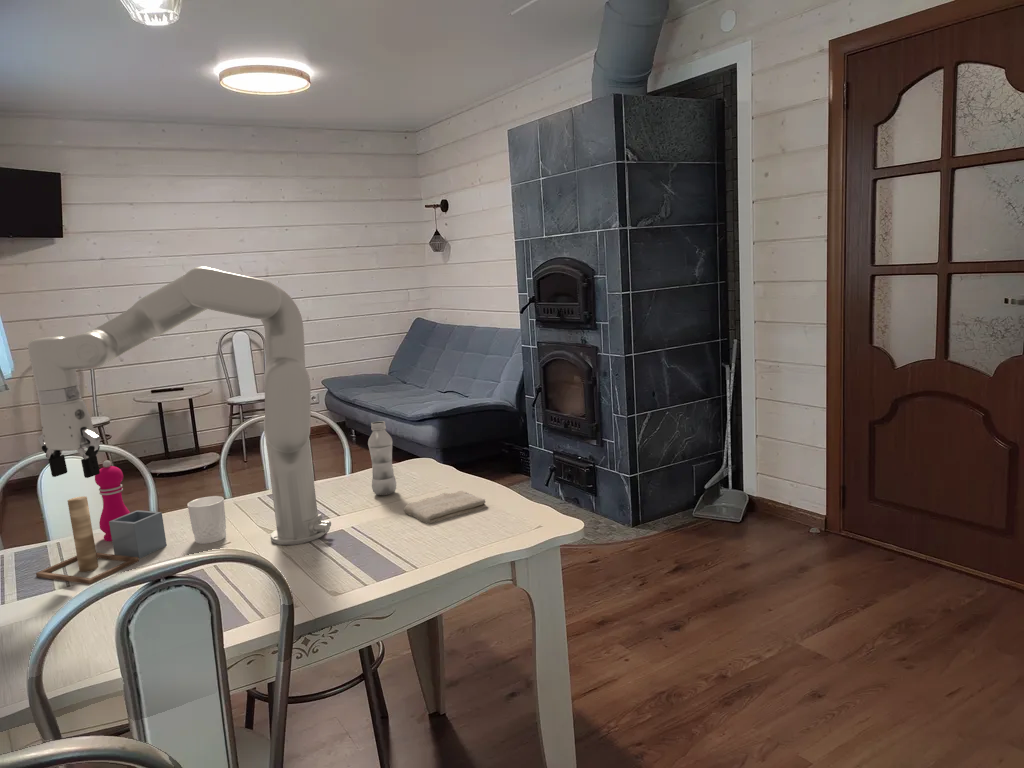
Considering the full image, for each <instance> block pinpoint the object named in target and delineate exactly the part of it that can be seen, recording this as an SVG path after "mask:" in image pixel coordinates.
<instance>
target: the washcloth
mask: <svg viewBox="0 0 1024 768" xmlns="http://www.w3.org/2000/svg"><path fill="white" fill-rule="evenodd" d="M486 508H487V505H486V499H485V498H483V497H478V496H475V495H473V494H472V493H470V492H467V491H464V490H459V491H455V492H450V493H448V492H444V493H443V492H442V493H440V494H438V495H434V496H432V497H427V498H424V499H421V500H420V499H419V500H418V501H417V500H416V501H413V502H410V503H408V504H407V505H406V506H404V508H403V511H404V513H406V514H407V515H409V516H411V517H412V518H413V517H415V518H416V519H417V520H419V521H421V522H423V523H425V524H433V523H437V522H440V521H443V520H448V519H451V518H454V517H457V516H460V515H464V514H467V513H471V512H475V511H477V510H478V511H479V510H481V509H482V510H483V509H486Z"/></svg>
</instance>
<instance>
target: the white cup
mask: <svg viewBox="0 0 1024 768" xmlns="http://www.w3.org/2000/svg"><path fill="white" fill-rule="evenodd" d="M224 500H225V499H224V497H223V496H221V495H220V496H219V495H212V496H211V495H210V496H205V497H204V496H203V497H199V498H196V499H193V500H191V501H189V502H187V504H186V505H187V510H188V516H189V521H190V525H191V530H192V533H193V535H194V536H193V538H194V542H195V543H196V544H201V545H203V544H205V545H206V544H211V543H214V542H215V543H216V542H219V541H221V540H223V539H225V538H226V537H227V530H226V529H227V525H226V524H227V522H226V521H227V519H226V510H225V501H224Z"/></svg>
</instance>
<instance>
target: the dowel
mask: <svg viewBox="0 0 1024 768" xmlns="http://www.w3.org/2000/svg"><path fill="white" fill-rule="evenodd" d="M67 507H68V511H69V512H68V513H69V519H70V524H71V529H72V530H71V531H72V535H73V543H74V547H75V552H76V553H75V554H76V556H77V559H78V561H77V564H78V570H79V573H89V572H92V571H95V570H97V569H98V568H99V562H98V558H97V555H96V553H97V549H96V544H95V539H94V532H93V526H92V520H91V514H90V513H91V512H90V507H89V502H88V497H87V496H84V495H83V496H76V497H73V498H70V499H68V500H67Z"/></svg>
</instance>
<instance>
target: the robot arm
mask: <svg viewBox="0 0 1024 768" xmlns="http://www.w3.org/2000/svg"><path fill="white" fill-rule="evenodd" d="M208 310H209V311H210V310H211V311H214V312H219V313H224V314H229V315H234V316H241V317H245V318H250V319H255V320H260V321H261V322H262V325H263V328H264V344H265V367H264V372H263V385H264V419H263V432H264V433H263V434H264V438H265V445H266V452H267V460H268V461H267V462H268V467H269V477H270V486H271V492H272V493H271V494H272V500H273V501H272V502H273V509H274V517H275V523H276V524H275V526H276V529H275V530H274V531H272V532H271V534H270V540H271V542H272V543H274V544H277V545H284V546H288V545H289V546H290V545H300V544H305V543H309V542H312V541H315V540H317V539H319V538H321V537H323V536H324V535H325V534H326V533H329V531H330V529H331V526H332V522H331V521H329V520H323V515H322V513H319V512H318V506H317V505H318V504H317V496H316V487H315V486H316V485H315V479H314V478H315V477H314V471H313V468H314V467H313V459H312V453H311V452H312V451H311V446H310V445H311V444H310V438H309V437H310V435H311V416H312V415H311V410H312V408H311V395H312V394H311V393H312V392H311V379H310V375H309V372H308V370H307V368H306V358H305V357H306V356H305V355H306V354H305V332H304V329H305V328H304V323H303V318H302V314H301V311H300V309H299V308H298V305H297V304H296V302H295V301H294V299H293V298H292V297H291V295H289V294H288V293H287V292H286V291H284V290H283V289H282V288H280V287H279V286H277V285H276V284H274V283H273V282H271V281H269V280H267V279H263V278H257V277H252V276H247V275H241V274H238V273H233V272H227V271H223V270H220V269H217V268H211V267H209V266H196V267H194V268H193V267H192V268H191V269H190V270H189V271H187V272H186V273H184V274H183V275H181V276H180V277H178V278H176V279H174V280H173V281H170V282H169V283H167V284H165V285H164V286H162V287H160V288H158V289H156V290H154V291H152V292H151V293H149V294H147V295H146V294H145V296H143V297H142V298H140V299H138V300H137V301H136V302H135V303H134V304H133V305H132V306H131V307H130V308H128V309H127V310H125V311H124V312H122V313H120V314H119V315H117V316H115V317H114V318H111V319H110V320H108V321H106V322H104V323H102V324H100V325H99V326H97V327H96V328H93V329H91V330H89V331H86V332H82V333H79V334H75V335H71V336H63V335H62V336H61V335H59V336H58V335H57V336H48V337H47V336H46V337H40V338H35V339H32V340H31V341H29V342H28V345H27V350H28V355H29V356H28V357H29V360H30V364H31V365H30V366H31V370H32V375H33V380H34V383H35V387H36V388H35V389H36V392H37V393H36V394H37V397H38V402H39V403H38V404H39V407H40V408H39V410H40V411H39V413H40V423H41V432H42V433H41V434H40V435H39V436H38V437H37V441H38V443H39V445H40V446H41V449H42V451H43V452H44V453H45V458H46V459H47V460H48V463H49V464H48V465H49V468H50V472H51V477H53V478H56V477H59V476H62V475H65V474H68V468H67V462H66V459H65V458H66V457H65V454H62V453H63V451H65V452H66V451H70V452H71V451H73V452H74V451H77V452H78V454H79V455H80V456H81V457H82V459H81V460H80V461H81V466H82V471H83V476H84V478H85V479H89V478H91V477H95V475H98V474H99V473H100V471H99V469H100V466H99V461H98V457H97V456H98V455H99V450H100V449H101V447H100V444H101V436H100V435H98V434H96V432H95V428H94V424H93V422H92V418H91V415H90V412H89V409H88V406H87V404H86V402H85V400H83V398H82V394H81V389H80V385H79V380H78V379H79V378H78V375H77V370H93V369H98V368H101V367H102V366H104V365H106V364H108V363H109V362H111V361H113V360H115V359H116V358H117V357H118V358H119V356H121V355H123V354H125V353H127V352H128V351H130V350H133V348H135V347H137V346H139V345H142V344H143V343H145V342H147V341H149V340H151V339H153V338H156V337H159V336H162V335H164V334H165V333H167V332H169V331H171V330H173V329H174V328H176V327H178V326H180V325H181V324H183V323H185V322H187V321H189V320H190V319H192V318H194V317H196V316H197V315H200V314H201V313H203V312H205V311H208ZM85 449H87V450H85Z"/></svg>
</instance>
